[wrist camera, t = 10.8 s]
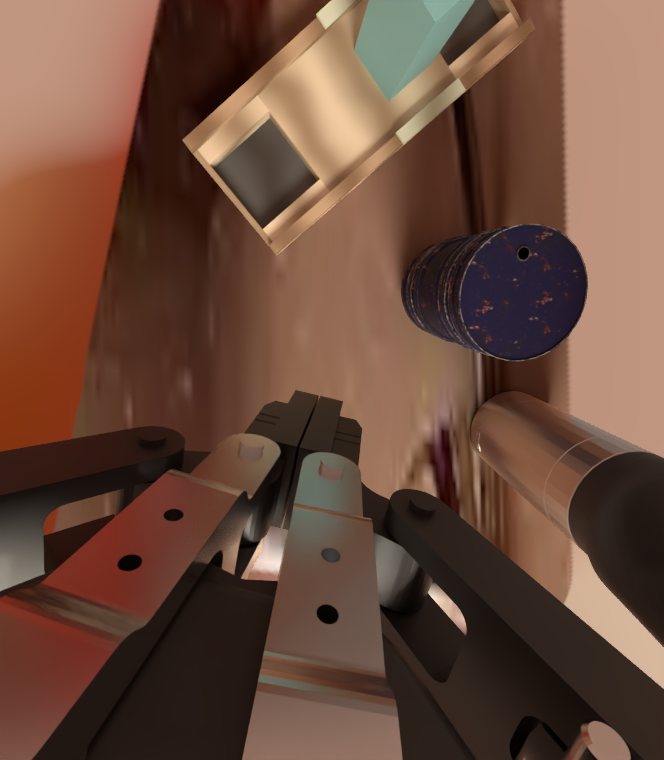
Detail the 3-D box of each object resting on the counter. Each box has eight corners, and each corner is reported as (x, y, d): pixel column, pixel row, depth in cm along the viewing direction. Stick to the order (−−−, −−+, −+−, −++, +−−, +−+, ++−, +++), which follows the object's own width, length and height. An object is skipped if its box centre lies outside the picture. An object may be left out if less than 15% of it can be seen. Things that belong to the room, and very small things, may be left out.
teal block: (388, 101, 37) (435, 22, 26) (353, 50, 36) (386, -58, 25) (431, 63, 37) (499, -35, 26) (398, 9, 36) (453, -119, 24)
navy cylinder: (491, 329, 46) (587, 353, 31) (404, 342, 45) (461, 373, 31) (488, 234, 43) (590, 212, 29) (396, 246, 42) (453, 230, 28)
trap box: (277, 256, 41) (276, 254, 38) (189, 149, 38) (180, 137, 35) (517, 47, 39) (538, 27, 36) (445, -83, 36) (460, -118, 33)
